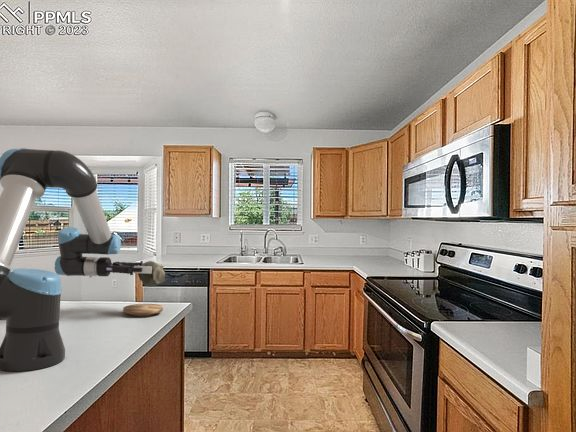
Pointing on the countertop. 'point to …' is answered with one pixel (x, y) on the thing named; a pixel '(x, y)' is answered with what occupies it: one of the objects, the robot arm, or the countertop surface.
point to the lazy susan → (142, 309)
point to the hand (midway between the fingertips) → (155, 268)
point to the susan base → (143, 315)
